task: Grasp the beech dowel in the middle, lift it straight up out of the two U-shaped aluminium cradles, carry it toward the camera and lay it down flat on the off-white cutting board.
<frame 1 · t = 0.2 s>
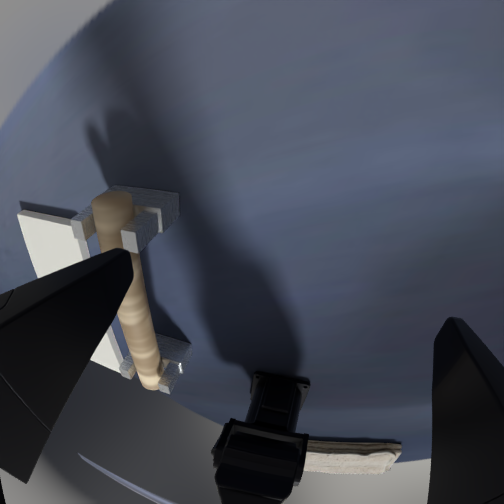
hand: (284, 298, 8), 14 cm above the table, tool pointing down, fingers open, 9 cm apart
beech dowel: (133, 312, 26), point 4 cm above the table, touching aluminium cradles
washcloth: (345, 451, 43), on the table
cutting board: (75, 298, 36), on the table
aluminium cradles: (156, 283, 30), on the table
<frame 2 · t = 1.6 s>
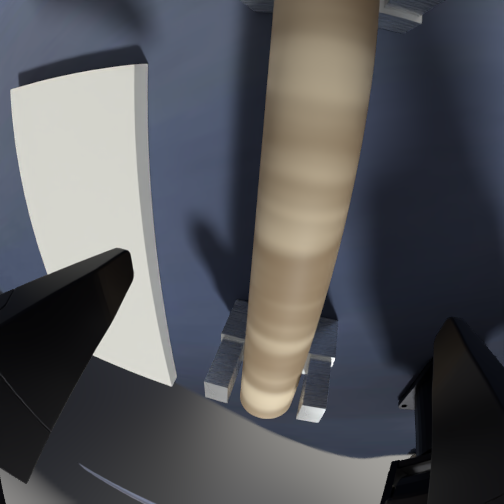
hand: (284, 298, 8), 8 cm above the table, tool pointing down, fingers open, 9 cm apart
beech dowel: (298, 230, 11), point 4 cm above the table, touching aluminium cradles
cutting board: (94, 252, 21), on the table
aluminium cradles: (309, 185, 14), on the table
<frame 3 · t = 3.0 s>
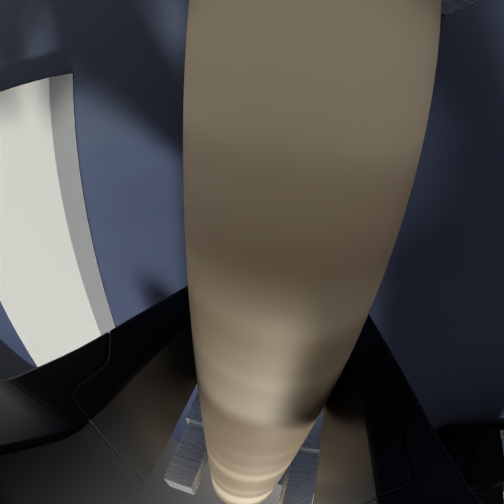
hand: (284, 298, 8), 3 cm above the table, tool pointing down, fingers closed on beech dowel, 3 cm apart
beech dowel: (268, 358, 6), point 4 cm above the table, touching aluminium cradles, gripper
cutting board: (48, 299, 16), on the table
aluminium cradles: (297, 247, 10), on the table
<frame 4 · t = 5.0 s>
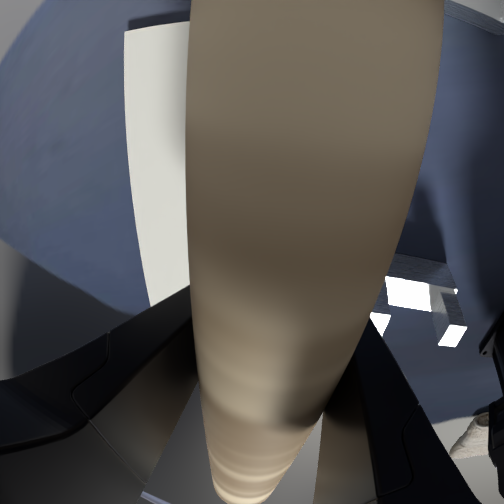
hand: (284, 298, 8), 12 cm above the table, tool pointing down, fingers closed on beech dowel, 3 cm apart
beech dowel: (270, 357, 6), point 14 cm above the table, touching gripper
cutting board: (208, 207, 21), on the table
aluminium cradles: (438, 140, 15), on the table
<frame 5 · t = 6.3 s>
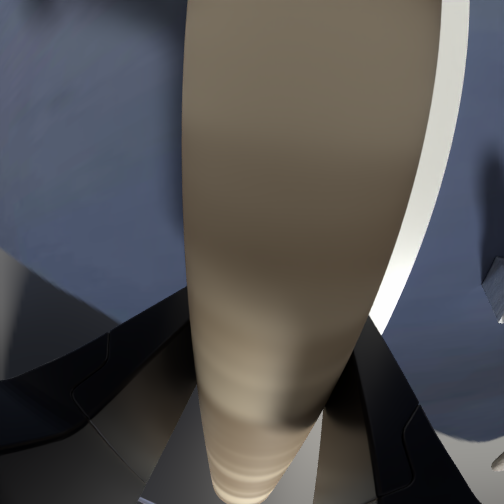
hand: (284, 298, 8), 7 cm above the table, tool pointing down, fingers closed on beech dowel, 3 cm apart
beech dowel: (268, 357, 6), point 9 cm above the table, touching gripper
cutting board: (308, 192, 14), on the table
when the fingers open (2 cm above the table, at t = 7.4 s): beech dowel drops 1 cm, resting on cutting board.
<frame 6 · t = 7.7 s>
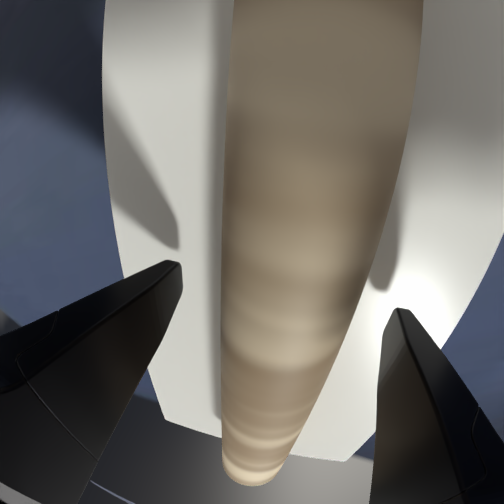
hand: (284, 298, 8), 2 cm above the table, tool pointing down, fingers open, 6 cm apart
beech dowel: (285, 315, 7), point 3 cm above the table, tilted 5°, touching cutting board
cutting board: (294, 256, 9), on the table
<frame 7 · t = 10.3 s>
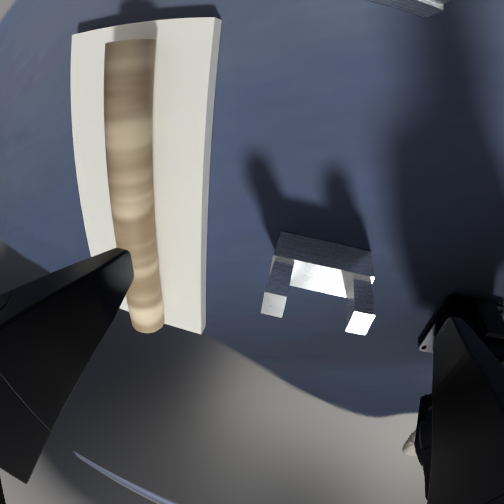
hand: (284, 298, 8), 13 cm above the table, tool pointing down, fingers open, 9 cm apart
beech dowel: (132, 207, 20), point 3 cm above the table, tilted 37°, touching cutting board
cutting board: (140, 191, 22), on the table
aluminium cradles: (353, 126, 16), on the table
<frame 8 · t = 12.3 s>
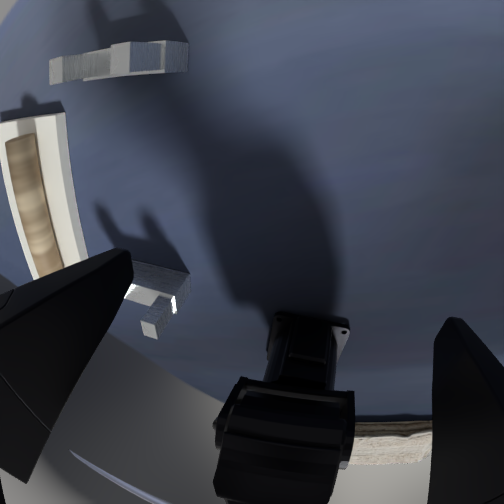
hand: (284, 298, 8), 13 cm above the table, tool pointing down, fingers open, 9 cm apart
beech dowel: (42, 244, 26), point 3 cm above the table, tilted 62°, touching cutting board
washcloth: (378, 435, 35), on the table
cutting board: (49, 230, 28), on the table
aluminium cradles: (148, 179, 22), on the table
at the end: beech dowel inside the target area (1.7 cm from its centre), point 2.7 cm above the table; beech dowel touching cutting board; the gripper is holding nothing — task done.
